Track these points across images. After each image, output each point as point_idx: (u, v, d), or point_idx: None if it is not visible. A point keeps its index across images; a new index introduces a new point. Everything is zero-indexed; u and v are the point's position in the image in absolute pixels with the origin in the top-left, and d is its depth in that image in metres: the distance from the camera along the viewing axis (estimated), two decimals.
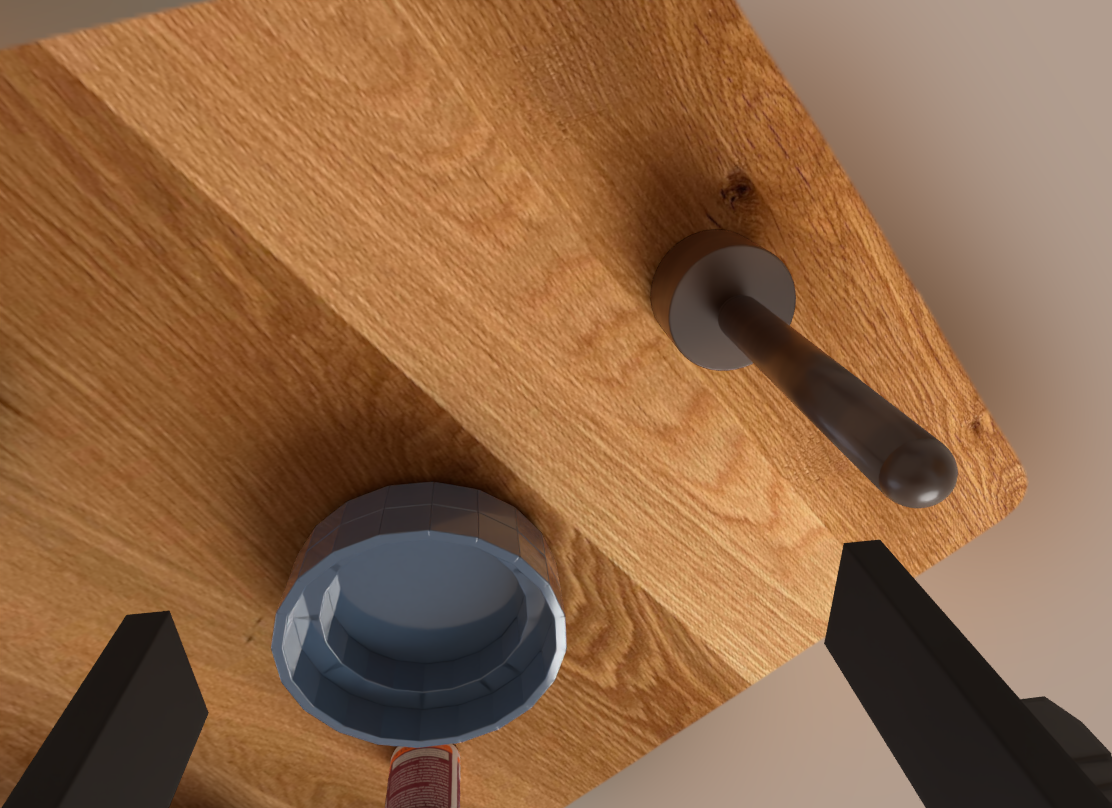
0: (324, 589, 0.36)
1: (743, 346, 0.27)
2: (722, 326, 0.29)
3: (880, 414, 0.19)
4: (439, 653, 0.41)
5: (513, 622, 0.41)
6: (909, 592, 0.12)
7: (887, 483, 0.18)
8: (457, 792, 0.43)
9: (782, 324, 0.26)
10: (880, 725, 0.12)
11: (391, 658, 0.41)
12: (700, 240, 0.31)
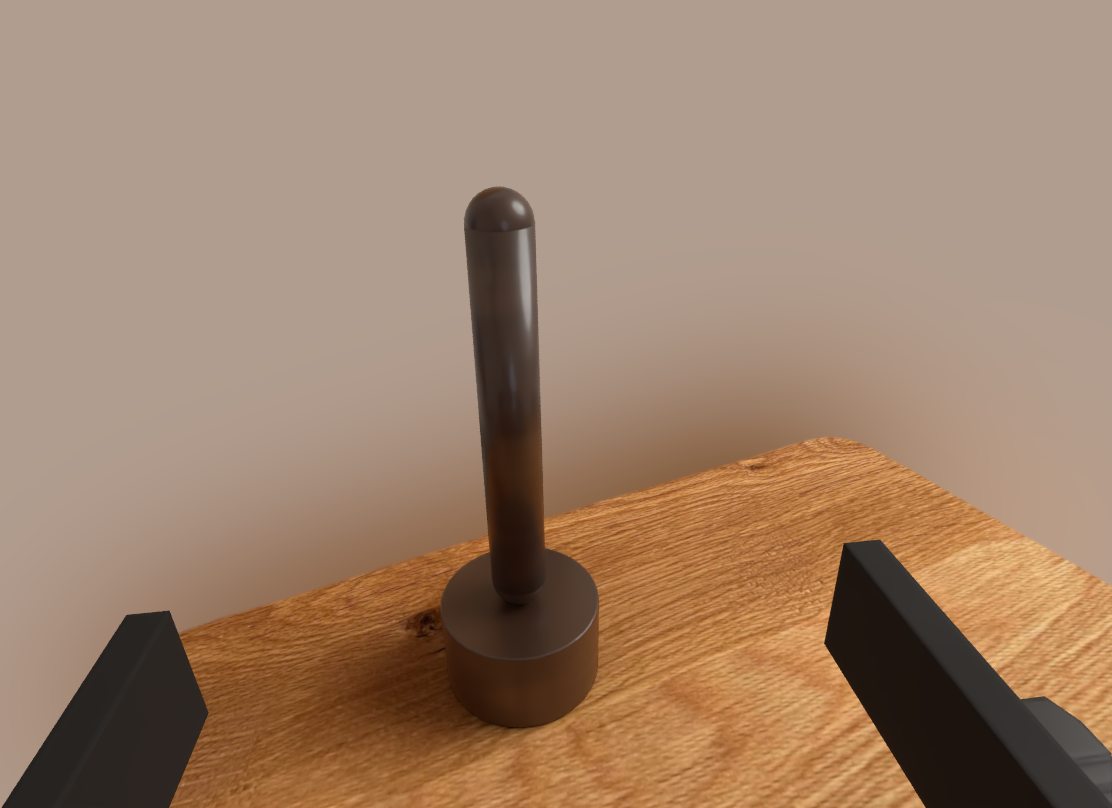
0: None
1: (511, 529, 0.23)
2: (515, 586, 0.24)
3: (468, 277, 0.20)
4: None
5: None
6: (909, 592, 0.12)
7: (493, 220, 0.18)
8: None
9: None
10: (881, 725, 0.12)
11: None
12: None
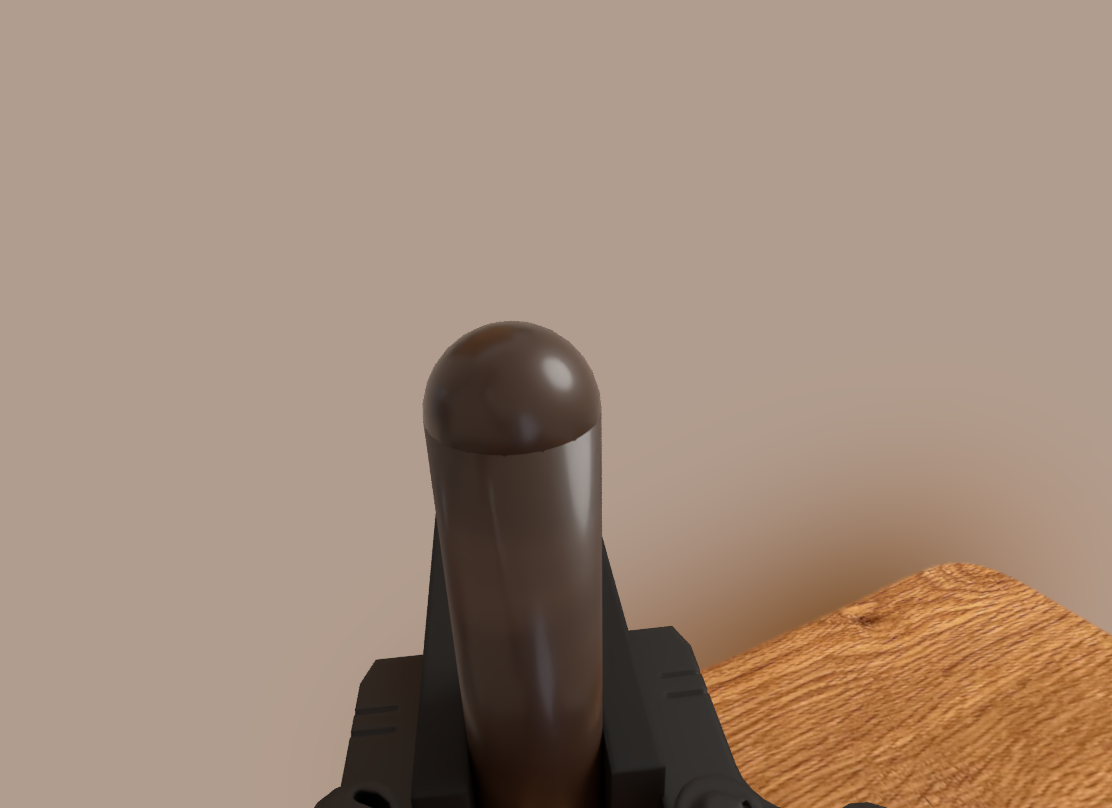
0: None
1: None
2: None
3: None
4: None
5: None
6: None
7: (497, 426, 0.07)
8: None
9: None
10: None
11: None
12: None
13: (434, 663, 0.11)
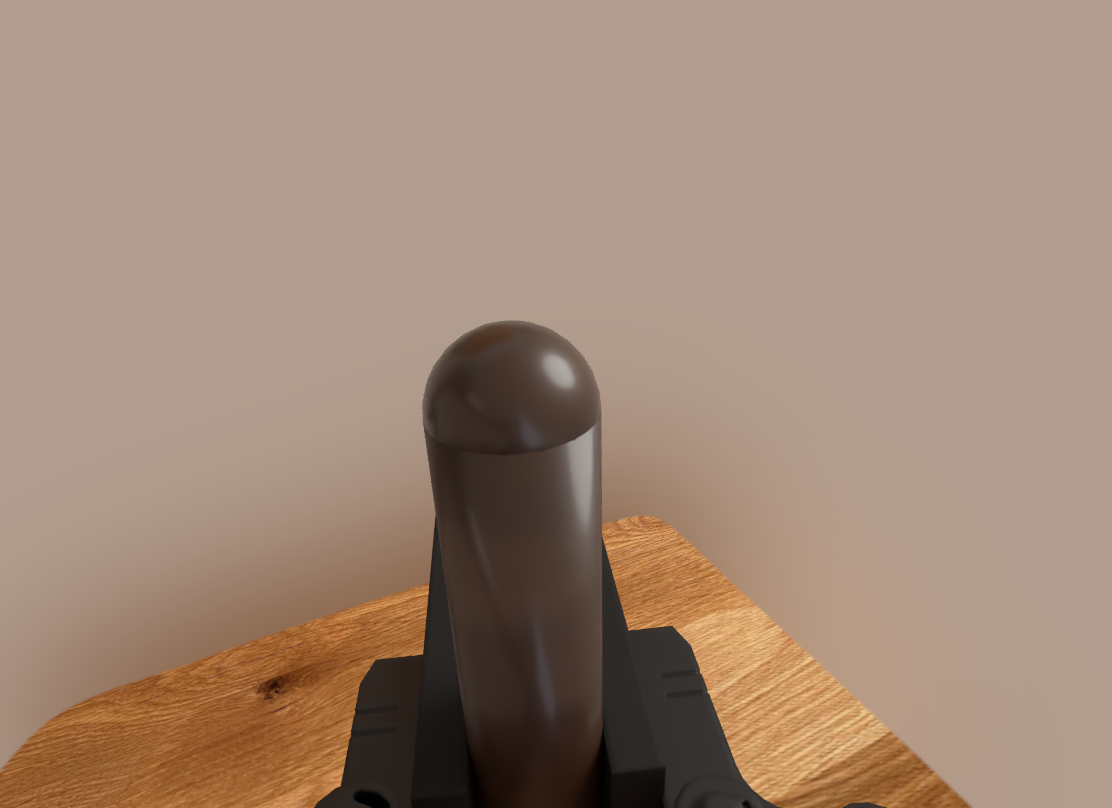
0: None
1: None
2: None
3: (438, 525, 0.08)
4: None
5: None
6: None
7: (496, 425, 0.07)
8: None
9: None
10: None
11: None
12: None
13: (434, 663, 0.11)
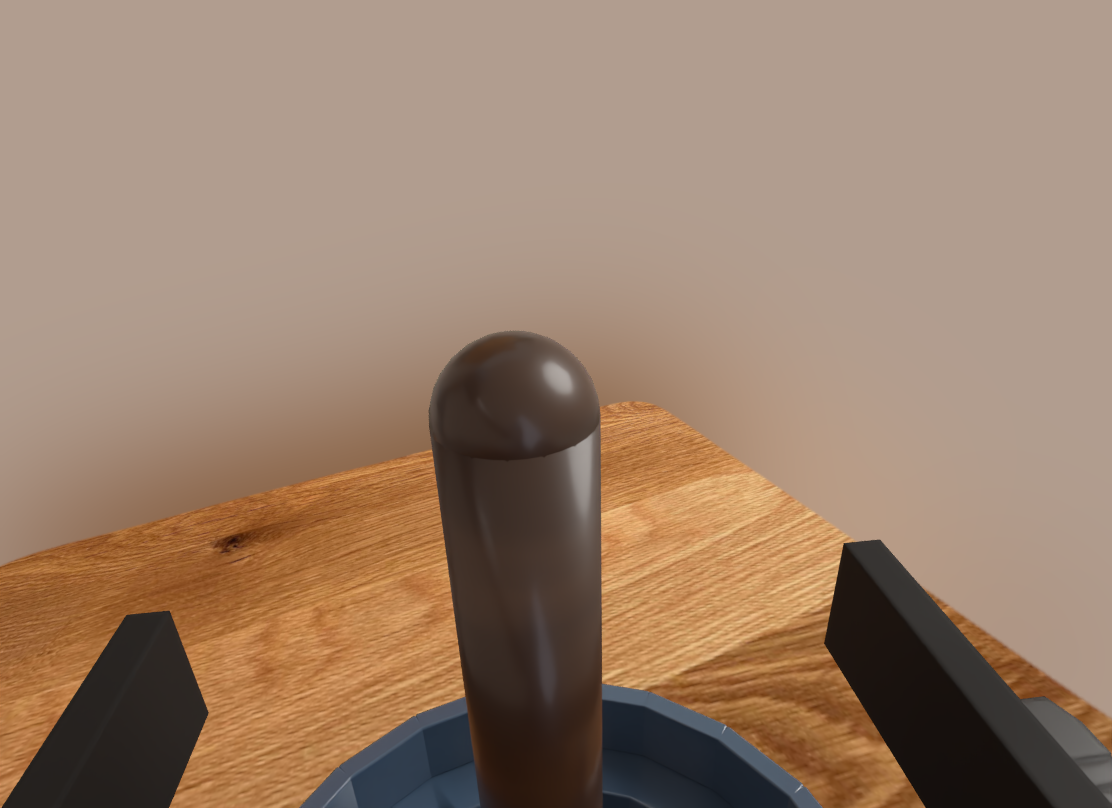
0: None
1: None
2: None
3: None
4: None
5: None
6: (908, 592, 0.12)
7: (500, 432, 0.07)
8: None
9: None
10: (880, 725, 0.12)
11: None
12: None
13: None
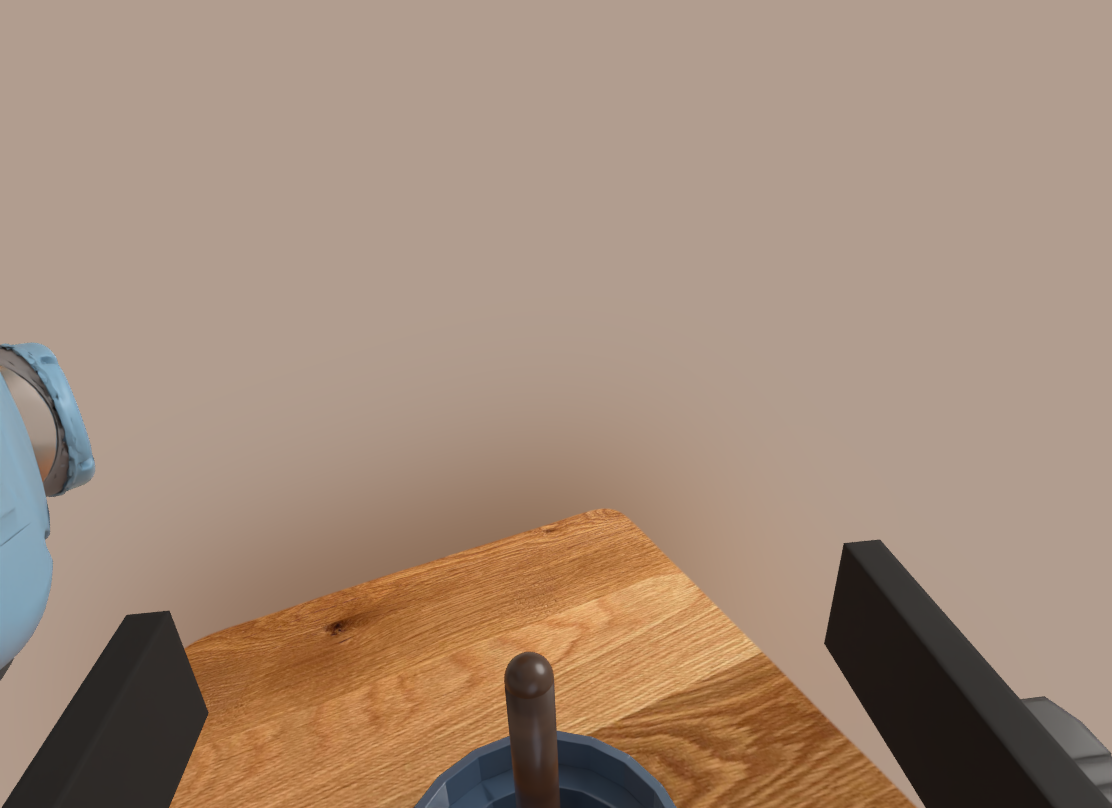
0: None
1: None
2: None
3: None
4: None
5: None
6: (908, 592, 0.12)
7: (525, 692, 0.26)
8: None
9: None
10: (881, 725, 0.12)
11: None
12: None
13: None
